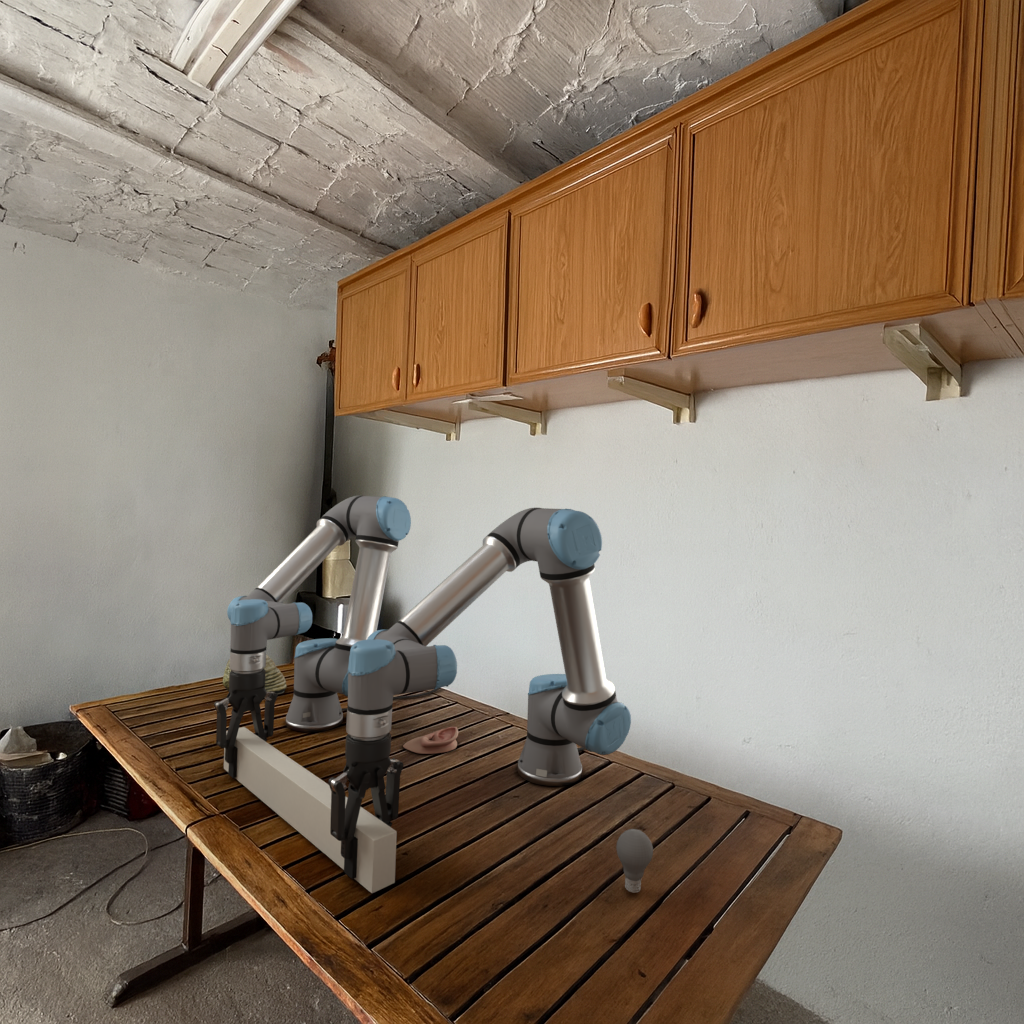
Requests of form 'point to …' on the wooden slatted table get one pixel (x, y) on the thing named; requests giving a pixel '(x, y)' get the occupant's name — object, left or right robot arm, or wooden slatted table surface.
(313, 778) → the bar
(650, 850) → the light bulb
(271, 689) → the fossil
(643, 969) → the wooden slatted table surface
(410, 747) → the anatomical model
